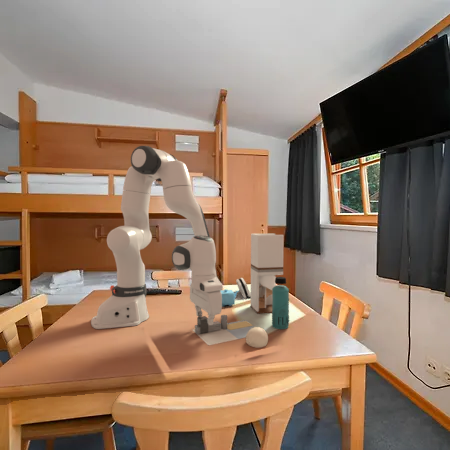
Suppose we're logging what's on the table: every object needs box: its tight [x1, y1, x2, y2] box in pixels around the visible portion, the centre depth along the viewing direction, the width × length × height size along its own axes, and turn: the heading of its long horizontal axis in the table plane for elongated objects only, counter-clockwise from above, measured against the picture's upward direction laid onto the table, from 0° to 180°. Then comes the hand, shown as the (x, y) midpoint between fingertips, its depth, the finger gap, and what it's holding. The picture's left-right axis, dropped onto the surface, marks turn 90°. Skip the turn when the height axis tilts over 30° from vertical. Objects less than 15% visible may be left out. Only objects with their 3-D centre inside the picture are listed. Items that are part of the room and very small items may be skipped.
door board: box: [192, 314, 255, 346], centre depth 104 cm, size 22×14×6 cm, turn 117°
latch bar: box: [194, 315, 221, 335], centre depth 104 cm, size 9×3×5 cm, turn 117°
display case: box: [250, 233, 285, 315], centre depth 129 cm, size 11×11×35 cm
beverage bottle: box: [271, 276, 290, 330], centre depth 110 cm, size 6×7×20 cm
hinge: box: [235, 277, 251, 299], centre depth 160 cm, size 17×5×10 cm, turn 6°
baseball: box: [245, 326, 269, 349], centre depth 94 cm, size 7×7×7 cm
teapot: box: [220, 288, 240, 308], centre depth 141 cm, size 12×6×8 cm, turn 103°
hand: (204, 320), depth 103 cm, fingers open, 8 cm apart
